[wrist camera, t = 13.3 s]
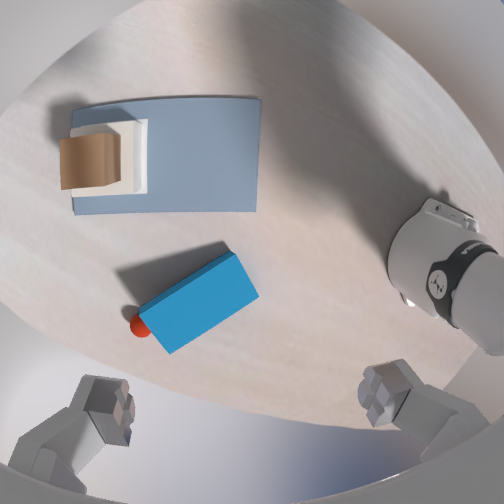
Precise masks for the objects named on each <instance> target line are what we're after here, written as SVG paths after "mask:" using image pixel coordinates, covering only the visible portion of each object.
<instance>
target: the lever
mask: <svg viewBox="0 0 504 504" xmlns="http://www.w3.org/2000/svg"><path fill="white" fill-rule="evenodd" d="M258 297H259V295H258V293H257V292H256V290H255V288H254V286H253V284H252V283H251V281H250V279H249V277H248V275H247V274H246V272H245V270H244V268H243V266H242V265H241V263H240V261H239V259H238V257H237V256H236V254H234V253H233V252H231V251H229V252H227V253H225V254H223V255H222V256H220V257H218V258H217V259H215V260H214V261H212V262H210V263H209V264H207V265H206V266H204V267H203V268H201V269H199V270H198V271H196V272H195V273H193V274H191V275H190V276H188V277H187V278H185V279H184V280H182V281H180V282H179V283H177V284H176V285H174V286H172V287H171V288H169V289H168V290H166V291H165V292H163V293H162V294H160V295H158V296H157V297H155V298H154V299H152V300H151V301H149V302H147V303H146V304H144V305H143V306H141V307H140V308H139V314H138V315H136V316H134V317H133V318H132V319H131V322H130V329H131V331H132V333H133V334H134V335H136V336H137V337H146V336H148V335H149V334H150V333H151V332H152V333H153V335H154V336H155V337H156V338H157V340H158V341H159V342H160V343H161V345H162V346H163V347H164V348H165V350H166V351H167V352H168V353H169V354H171V353H173V352H174V351H176V350H177V349H179V348H181V347H182V346H184V345H186V344H187V343H189V342H190V341H192V340H194V339H195V338H197V337H198V336H200V335H201V334H203V333H205V332H206V331H208V330H209V329H211V328H212V327H214V326H216V325H217V324H219V323H220V322H222V321H223V320H225V319H226V318H228V317H229V316H231V315H233V314H234V313H236V312H237V311H239V310H240V309H242V308H243V307H245V306H246V305H248V304H249V303H251V302H252V301H254V300H255V299H257V298H258Z"/></svg>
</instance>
